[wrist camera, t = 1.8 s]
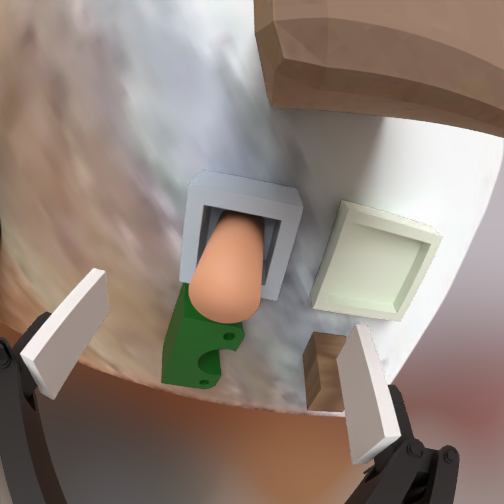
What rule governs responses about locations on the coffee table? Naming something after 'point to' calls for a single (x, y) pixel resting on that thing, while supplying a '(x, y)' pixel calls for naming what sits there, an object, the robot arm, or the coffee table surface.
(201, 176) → the socket
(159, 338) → the coffee table surface
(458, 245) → the coffee table surface
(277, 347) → the coffee table surface
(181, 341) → the clamp
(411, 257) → the tray
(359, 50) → the wooden block
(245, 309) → the peach rounded rod
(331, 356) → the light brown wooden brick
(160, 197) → the coffee table surface
